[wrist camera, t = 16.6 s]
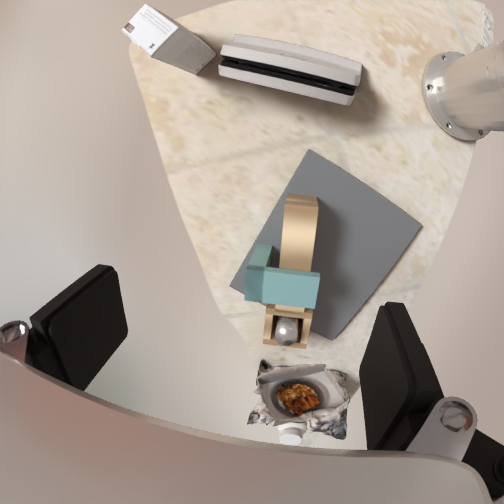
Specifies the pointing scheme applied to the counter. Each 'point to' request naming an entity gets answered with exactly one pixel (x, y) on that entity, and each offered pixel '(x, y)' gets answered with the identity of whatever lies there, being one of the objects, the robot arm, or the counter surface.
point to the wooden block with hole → (295, 263)
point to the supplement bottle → (291, 433)
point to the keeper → (278, 282)
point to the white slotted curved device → (291, 68)
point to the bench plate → (340, 240)
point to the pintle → (286, 330)
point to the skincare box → (168, 40)
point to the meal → (302, 398)
